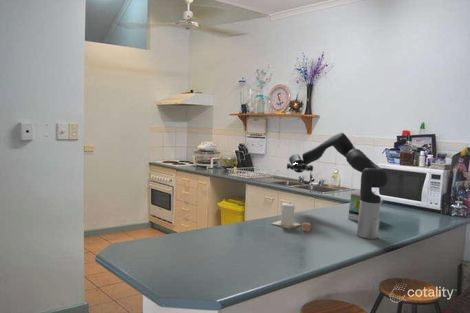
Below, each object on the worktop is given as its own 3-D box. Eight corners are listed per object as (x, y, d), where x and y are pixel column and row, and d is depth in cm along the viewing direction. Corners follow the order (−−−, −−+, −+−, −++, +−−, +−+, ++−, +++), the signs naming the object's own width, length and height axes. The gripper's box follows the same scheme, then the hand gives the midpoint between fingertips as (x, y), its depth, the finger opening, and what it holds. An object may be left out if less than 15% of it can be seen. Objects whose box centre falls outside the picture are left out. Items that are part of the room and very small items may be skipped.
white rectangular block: (292, 222, 209) (294, 203, 208) (292, 225, 203) (294, 206, 202) (280, 221, 209) (282, 202, 208) (280, 224, 203) (282, 205, 202)
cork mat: (301, 225, 207) (301, 224, 207) (290, 229, 198) (290, 227, 198) (282, 220, 214) (282, 219, 213) (271, 224, 205) (271, 223, 205)
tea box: (364, 223, 224) (367, 196, 222) (347, 219, 230) (350, 193, 228) (373, 218, 236) (376, 194, 234) (357, 215, 242) (359, 191, 240)
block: (309, 229, 200) (309, 222, 200) (309, 231, 196) (310, 224, 196) (302, 229, 200) (302, 222, 200) (302, 231, 197) (303, 224, 196)
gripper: (286, 157, 233) (287, 160, 217) (311, 159, 232) (314, 162, 216) (285, 170, 234) (286, 174, 218) (310, 172, 233) (313, 176, 217)
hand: (300, 168), depth 217 cm, fingers open, 8 cm apart
